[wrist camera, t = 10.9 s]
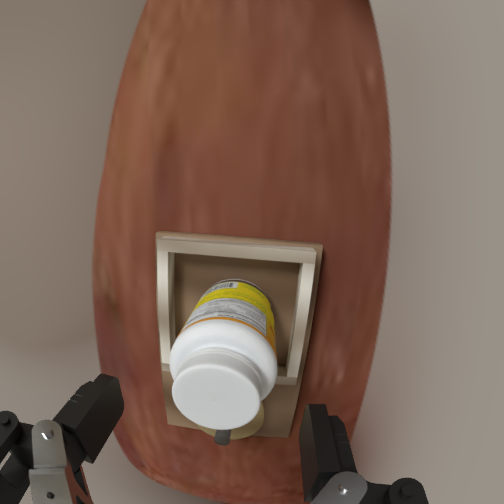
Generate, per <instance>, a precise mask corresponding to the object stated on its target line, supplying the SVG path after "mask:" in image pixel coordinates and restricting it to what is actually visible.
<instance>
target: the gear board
mask: <svg viewBox="0 0 504 504" xmlns="http://www.w3.org/2000/svg"><path fill="white" fill-rule="evenodd" d="M322 249H323V245H322V244H320V243H311V242H299V241H287V240H275V239H263V238H250V237H238V236H225V235H211V234H198V233H184V232H169V231H159V232H156V300H157V321H158V337H159V350H160V362H161V372H162V381H163V390H164V398H165V406H166V413H167V420H168V424H172V425H177V426H182V427H187V428H193V429H199V430H203V431H204V432H206V433H208V434H210V435H212V436H215V438H214V441H215V442H216V443H217V444H219V445H227V444H229V442H230V439H241V438H245V437H248V436H264V437H289V434H290V430H291V425H292V421H293V417H294V413H295V408H296V404H297V399H298V395H299V390H300V385H301V380H302V375H303V370H304V365H305V360H306V355H307V349H308V344H309V338H310V332H311V326H312V320H313V314H314V308H315V301H316V295H317V288H318V281H319V273H320V265H321V258H322ZM228 279H240V280H245V281H248V282H251V283H253V284H255V285H256V286H258V287H259V288H260V289H261V290H262V291H264V293H265V294H266V295H267V296H268V298H269V300H270V302H271V304H272V308H273V314H274V327H275V339H276V352H277V378H276V382H275V384H274V387H273V389H272V390H271V392H270V393H269V394H268V395H267V396H266V398H264V399H263V400H262V401H261V405H260V409H259V411H258V413H257V415H256V416H255V417H254V419H253V420H251V421H250V422H249V423H247V424H245V425H243V426H241V427H238V428H234V429H228V430H217V429H211V428H207V427H203V426H201V425H198V424H196V423H194V422H193V421H191V420H189V419H188V418H187V417H185V416H184V415H183V414H182V413H181V412H180V410H179V409H178V408H177V406H176V405H175V403H174V400H173V397H172V386H173V382H174V380H173V377H172V375H171V372H170V365H169V358H170V352H171V349H172V346H173V344H174V342H175V340H176V338H177V337H178V335H179V333H180V332H181V330H182V328H183V327H184V325H185V323H186V322H187V320H188V318H189V317H190V315H191V313H192V312H193V310H194V308H195V307H196V305H197V303H198V302H199V300H200V299H201V297H202V295H203V294H204V293H205V292H206V291H207V290H208V288H210V287H211V286H212V285H214V284H216V283H218V282H220V281H223V280H228Z"/></svg>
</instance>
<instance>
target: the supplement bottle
mask: <svg viewBox="0 0 504 504" xmlns="http://www.w3.org/2000/svg"><path fill="white" fill-rule="evenodd" d="M169 365H170V372H171V375H172V377H173V380H174V382H173V386H172V397H173V400H174V403H175V405H176V406H177V408H178V409H179V410H180V412H181V413H182V414H183V415H184V416H185V417H187V418H188V419H189V420H191V421H193V422H194V423H196V424H198V425H201V426H203V427H207V428H211V429H217V430H228V429H234V428H238V427H241V426H243V425H245V424H247V423H249V422H250V421H251V420H253V419H254V417H255V416H256V415H257V413H258V411H259V409H260V405H261V401H262V400H263V399H264V398H266V396H267V395H268V394H269V393H270V392H271V390H272V389H273V387H274V384H275V382H276V378H277V352H276V339H275V327H274V314H273V308H272V304H271V302H270V300H269V298H268V296H267V295H266V294H265V293H264V291H262V290H261V289H260V288H259V287H258V286H256V285H255V284H253V283H251V282H248V281H245V280H240V279H228V280H223V281H220V282H218V283H216V284H214V285H212V286H211V287H210V288H208V290H207V291H206V292H205V293H204V294H203V295H202V297H201V299H200V300H199V302H198V303H197V305H196V307H195V308H194V310H193V312H192V313H191V315H190V317H189V318H188V320H187V322H186V323H185V325H184V327H183V328H182V330H181V332H180V333H179V335H178V337H177V338H176V340H175V342H174V344H173V346H172V349H171V352H170V358H169Z"/></svg>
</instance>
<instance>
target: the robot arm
mask: <svg viewBox="0 0 504 504" xmlns="http://www.w3.org/2000/svg"><path fill="white" fill-rule="evenodd" d="M123 410H124V401H123V397H122V393H121V389H120V384H119V380H118V378H116V377H113V376H109V375H106V374H100V375H99V376H98V377H97V378H96V379H95V380H94V382H92V381H89V382H88V383H86V384H84V385H82V386H81V387H80V388H79V389H78V390H77V391H76V393H75V395H73V396H72V397H71V398H70V400H69V401H68V402H67V403H66V404H65V405H64V407H63V408H62V409H61V410H60V411H59V413H58V414H57V415H56V417H54V419H53V420H42V421H39V422H38V423H36V424H35V425H30V424H26V423H21V422H19V420H18V418H17V416H16V415H15V414H14V413H13V412H10V411H2V412H0V463H1V462H2V460H3V459H4V458H5V456H6V455H7V453H8V452H10V453H11V456H10V457H9V459H8V460H7V461H6V463H5V464H4V466H3V467H2V468H1V470H0V504H19V503H20V501H21V499H22V497H23V496H24V494H25V492H26V490H27V488H28V487H29V485H30V487H31V494H32V500H33V504H94V503H93V501H92V499H91V496H90V493H89V490H88V486H87V483H86V479H85V476H84V472H83V468H82V466H81V464H82V463H83V461H87V462H89V463H92V464H93V463H94V461H95V460H96V458H97V456H98V454H99V452H100V451H101V449H102V448H103V446H104V444H105V442H106V441H107V439H108V437H109V436H110V434H111V432H112V431H113V429H114V427H115V426H116V424H117V422H118V421H119V419H120V417H121V416H122V413H123ZM346 434H347V433H346V429H345V425H344V423H343V422H342V421H341V420H340V419H339V417H338V416H328V412H327V407H326V405H325V404H307V405H306V408H305V412H304V416H303V419H302V423H301V427H300V433H299V444H300V455H301V466H302V478H303V490H304V502H311V501H312V502H311V503H310V504H429V503H428V500H427V497H426V494H425V491H424V488H423V486H422V484H421V483H420V482H418V481H417V480H415V479H412V478H401V479H399V480H397V481H395V482H394V483H393V484H392V485H385V484H375V483H370V482H368V481H366V480H365V479H364V478H363V477H362V476H361V475H359V474H358V472H357V470H356V467H355V463H354V459H353V455H352V452H351V448H350V444H349V440H348V436H347V435H346Z"/></svg>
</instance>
